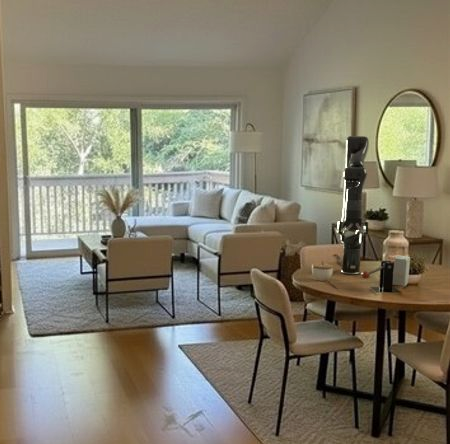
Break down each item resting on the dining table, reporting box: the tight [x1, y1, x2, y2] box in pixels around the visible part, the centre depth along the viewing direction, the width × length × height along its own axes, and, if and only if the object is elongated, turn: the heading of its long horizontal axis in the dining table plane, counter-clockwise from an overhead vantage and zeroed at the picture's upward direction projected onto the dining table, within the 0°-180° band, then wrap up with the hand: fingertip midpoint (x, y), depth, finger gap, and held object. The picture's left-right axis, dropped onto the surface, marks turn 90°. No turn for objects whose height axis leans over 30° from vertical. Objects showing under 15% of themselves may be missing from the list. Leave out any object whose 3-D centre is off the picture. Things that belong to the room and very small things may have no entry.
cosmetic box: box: [393, 254, 411, 287], centre depth 282 cm, size 8×6×15 cm
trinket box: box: [311, 261, 334, 282], centre depth 296 cm, size 11×11×9 cm
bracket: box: [369, 260, 403, 294], centre depth 271 cm, size 12×10×15 cm
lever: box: [361, 262, 389, 280], centre depth 271 cm, size 14×4×4 cm, turn 88°
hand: (351, 242), depth 271 cm, fingers open, 8 cm apart
